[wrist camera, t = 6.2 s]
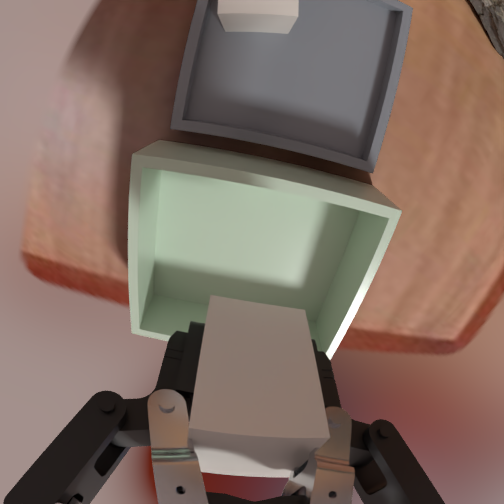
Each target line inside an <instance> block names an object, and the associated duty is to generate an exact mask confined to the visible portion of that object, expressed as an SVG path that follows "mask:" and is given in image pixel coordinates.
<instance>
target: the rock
mask: <svg viewBox="0 0 504 504" xmlns="http://www.w3.org/2000/svg"><path fill="white" fill-rule="evenodd" d="M470 2H471V3H472V5H473V6H474V8H475V10H476V11H477V13H478V15H479V17H480V19H481V21H482V24H483V25H484V27H485V29H486V30H487V32H488V34H489V36H490V39H491V41H492V43H493V45H494V47H495V49H496V50H497V52H498V53H499V54H500V55H501V56H502V57H503V59H504V0H470Z"/></svg>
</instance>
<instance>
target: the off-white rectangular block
mask: <svg viewBox="0 0 504 504" xmlns="http://www.w3.org/2000/svg"><path fill="white" fill-rule="evenodd" d="M188 438H190V439H192V441H193V446H194V450H195V452H196V454H197V457H198V461H199V465H200V470H201V472H209V473H216V474H226V475H238V476H255V477H290V473H291V471H292V470H293V469H294V468H295V467H301V466H302V465H303V464H304V463H305V462H306V461H307V460H308V459H309V454H310V452H311V451H312V450H313V449H314V448H320V447H321V446H322V445H323V444H324V443H325V442H326V441H327V440H328V439H329V438H330V434H329V429H328V423H327V417H326V412H325V406H324V401H323V396H322V390H321V385H320V380H319V375H318V370H317V365H316V360H315V355H314V350H313V345H312V340H311V336H310V331H309V326H308V321H307V317H306V312H305V310H303V309H296V308H289V307H282V306H275V305H269V304H262V303H256V302H250V301H244V300H238V299H232V298H226V297H220V296H215V295H210V300H209V306H208V311H207V317H206V323H205V328H204V334H203V340H202V346H201V352H200V358H199V364H198V370H197V376H196V383H195V389H194V396H193V402H192V409H191V416H190V422H189V430H188Z"/></svg>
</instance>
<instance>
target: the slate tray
mask: <svg viewBox="0 0 504 504" xmlns="http://www.w3.org/2000/svg"><path fill="white" fill-rule="evenodd" d="M412 10H413V8H412V7H410V6H408V5H406V4H404V3H402V2H400V1H398V0H299V7H298V18H297V20H296V21H295V23H294V25H293V26H292V28H291V30H290V32H289V33H288V34H282V33H267V32H225V30H224V28H223V25H222V23H221V21H220V18H219V16H218V14H217V13H218V0H197V4H196V8H195V11H194V15H193V19H192V23H191V26H190V30H189V35H188V39H187V43H186V47H185V52H184V56H183V61H182V65H181V70H180V75H179V80H178V85H177V91H176V96H175V102H174V108H173V114H172V120H171V126H170V129H175V130H182V131H189V132H196V133H203V134H209V135H215V136H221V137H227V138H232V139H238V140H243V141H248V142H253V143H258V144H263V145H268V146H272V147H277V148H281V149H286V150H290V151H294V152H298V153H302V154H306V155H310V156H314V157H318V158H322V159H325V160H329V161H333V162H336V163H340V164H343V165H347V166H350V167H354V168H357V169H360V170H363V171H367V172H370V173H373V171H374V168H375V165H376V162H377V158H378V155H379V152H380V149H381V145H382V142H383V138H384V135H385V131H386V128H387V124H388V121H389V117H390V113H391V110H392V106H393V102H394V98H395V94H396V90H397V86H398V82H399V77H400V73H401V68H402V64H403V59H404V54H405V50H406V45H407V39H408V34H409V28H410V23H411V17H412Z"/></svg>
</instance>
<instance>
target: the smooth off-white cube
mask: <svg viewBox="0 0 504 504" xmlns="http://www.w3.org/2000/svg"><path fill="white" fill-rule="evenodd" d="M298 7H299V0H218V13H217V14H218V16H219V18H220V21H221V23H222V25H223V28H224V30H225V32H267V33H282V34H288V33H289V32H290V30H291V28H292V26H293V25H294V23H295V21H296V20H297V18H298Z"/></svg>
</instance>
